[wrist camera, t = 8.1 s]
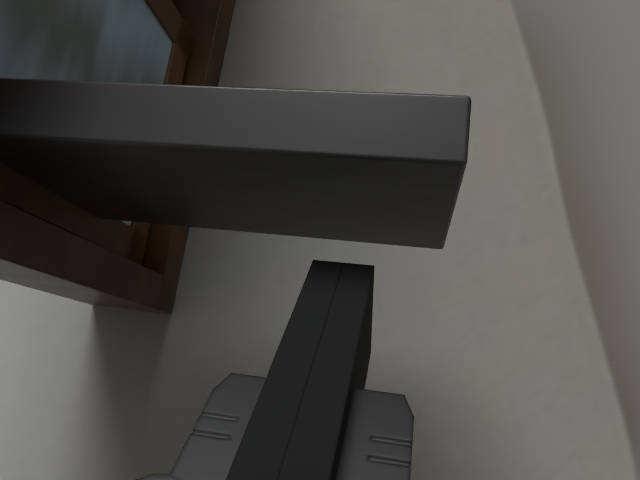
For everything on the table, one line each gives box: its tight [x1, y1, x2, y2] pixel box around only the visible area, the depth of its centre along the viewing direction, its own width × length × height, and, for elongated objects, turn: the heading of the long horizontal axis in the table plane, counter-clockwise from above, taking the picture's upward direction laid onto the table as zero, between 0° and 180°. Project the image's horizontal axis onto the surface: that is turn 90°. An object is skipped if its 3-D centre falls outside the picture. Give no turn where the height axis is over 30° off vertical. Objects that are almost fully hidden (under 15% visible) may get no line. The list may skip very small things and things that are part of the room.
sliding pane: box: [0, 0, 471, 265], centre depth 18 cm, size 12×13×12 cm
